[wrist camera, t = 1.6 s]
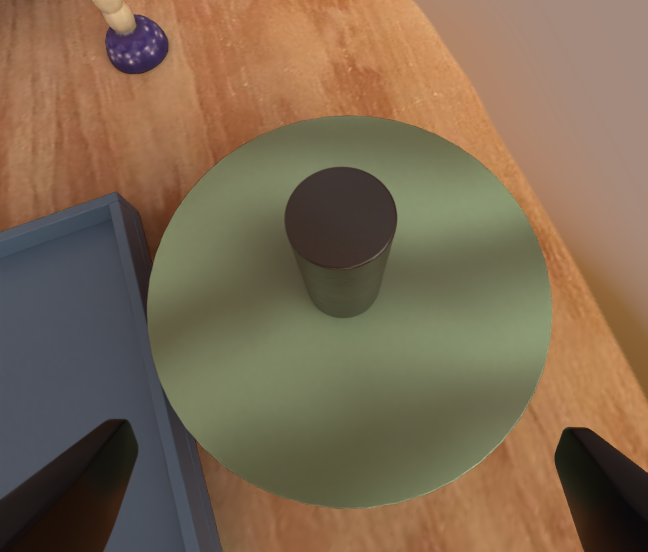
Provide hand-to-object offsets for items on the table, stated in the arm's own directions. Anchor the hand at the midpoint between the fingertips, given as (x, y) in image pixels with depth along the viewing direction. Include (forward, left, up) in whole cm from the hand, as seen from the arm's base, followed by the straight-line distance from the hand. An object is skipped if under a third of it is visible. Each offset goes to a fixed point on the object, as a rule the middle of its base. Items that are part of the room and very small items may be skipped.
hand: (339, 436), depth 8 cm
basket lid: (+5, -2, -7) cm, 8 cm away
